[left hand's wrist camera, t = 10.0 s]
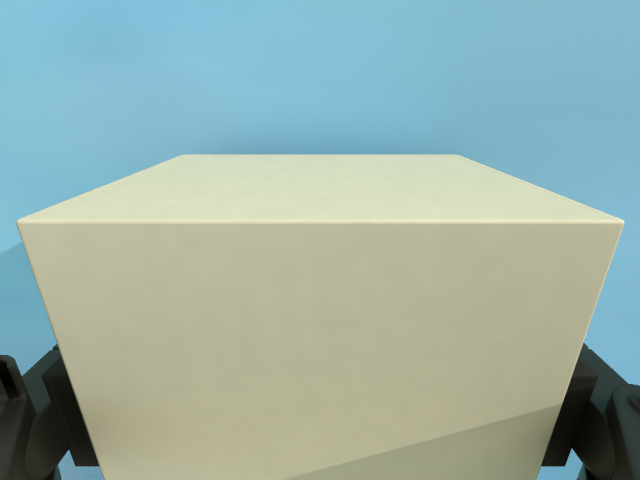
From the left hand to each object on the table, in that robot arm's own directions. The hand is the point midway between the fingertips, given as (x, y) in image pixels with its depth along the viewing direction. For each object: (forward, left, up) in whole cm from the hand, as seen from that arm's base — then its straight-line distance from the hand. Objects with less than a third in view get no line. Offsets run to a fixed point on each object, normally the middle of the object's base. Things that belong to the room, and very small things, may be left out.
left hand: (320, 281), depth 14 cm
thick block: (+28, 0, -1) cm, 28 cm away
